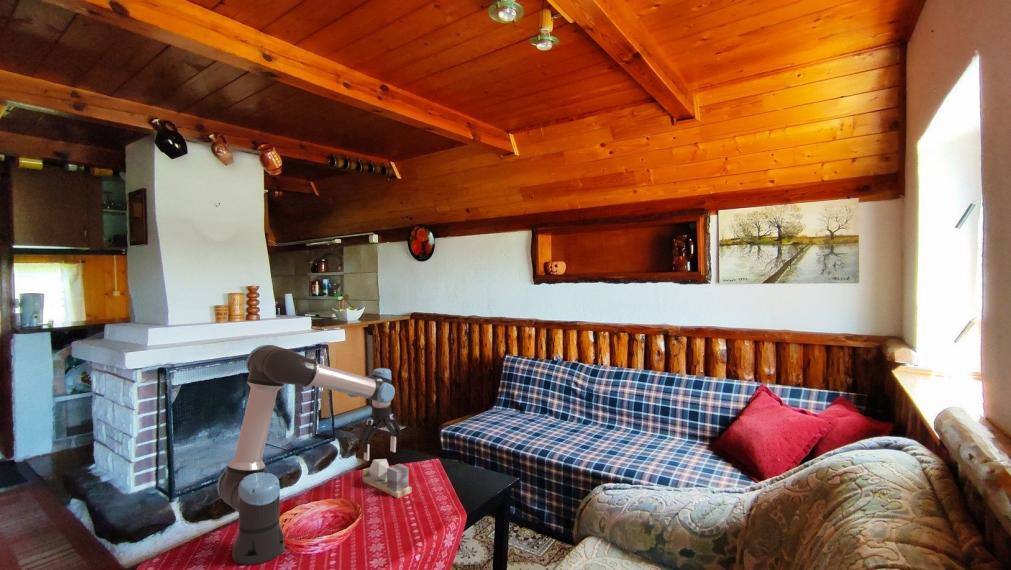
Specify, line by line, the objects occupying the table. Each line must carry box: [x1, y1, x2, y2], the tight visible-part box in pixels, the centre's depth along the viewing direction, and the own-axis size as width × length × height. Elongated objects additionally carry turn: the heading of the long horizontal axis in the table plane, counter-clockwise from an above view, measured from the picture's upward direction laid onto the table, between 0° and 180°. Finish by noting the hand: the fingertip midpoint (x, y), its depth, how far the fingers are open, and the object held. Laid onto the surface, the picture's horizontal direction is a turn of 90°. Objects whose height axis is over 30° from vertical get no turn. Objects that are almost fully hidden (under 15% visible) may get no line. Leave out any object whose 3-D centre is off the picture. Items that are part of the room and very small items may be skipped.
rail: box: [361, 463, 413, 499], centre depth 207 cm, size 7×24×10 cm, turn 51°
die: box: [369, 458, 390, 481], centre depth 209 cm, size 8×9×10 cm
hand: (380, 455), depth 209 cm, fingers open, 13 cm apart
